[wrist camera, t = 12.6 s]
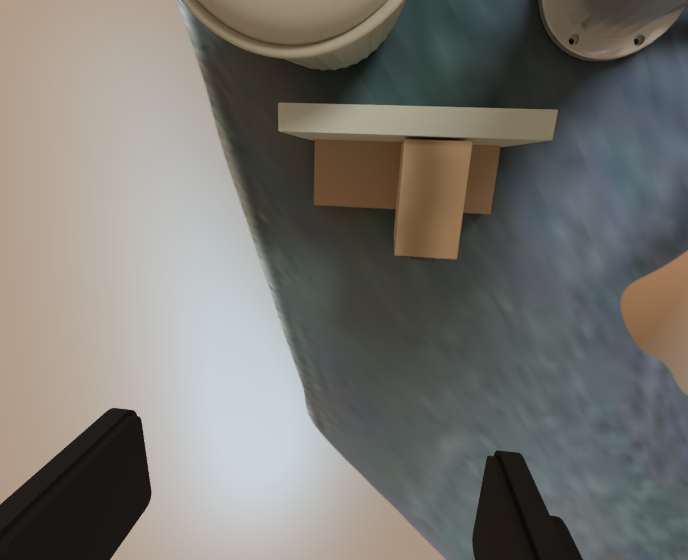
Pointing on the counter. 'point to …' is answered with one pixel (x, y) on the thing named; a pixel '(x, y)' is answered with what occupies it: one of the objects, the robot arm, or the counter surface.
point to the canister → (302, 27)
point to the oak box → (431, 198)
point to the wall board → (389, 133)
